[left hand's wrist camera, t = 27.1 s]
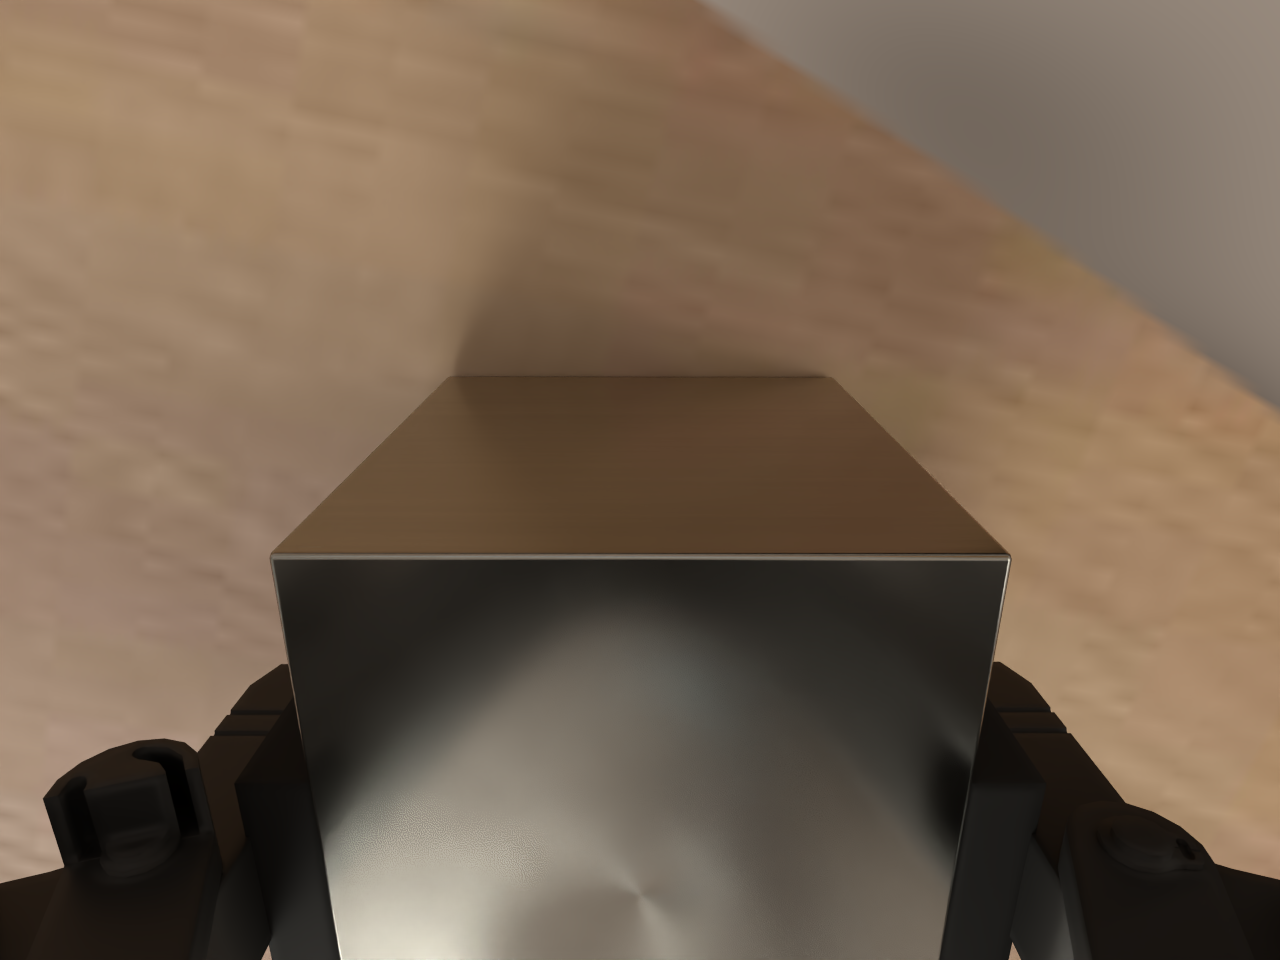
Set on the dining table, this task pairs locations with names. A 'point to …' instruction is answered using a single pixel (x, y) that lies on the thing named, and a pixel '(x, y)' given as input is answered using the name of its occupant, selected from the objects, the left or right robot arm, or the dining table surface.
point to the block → (640, 676)
